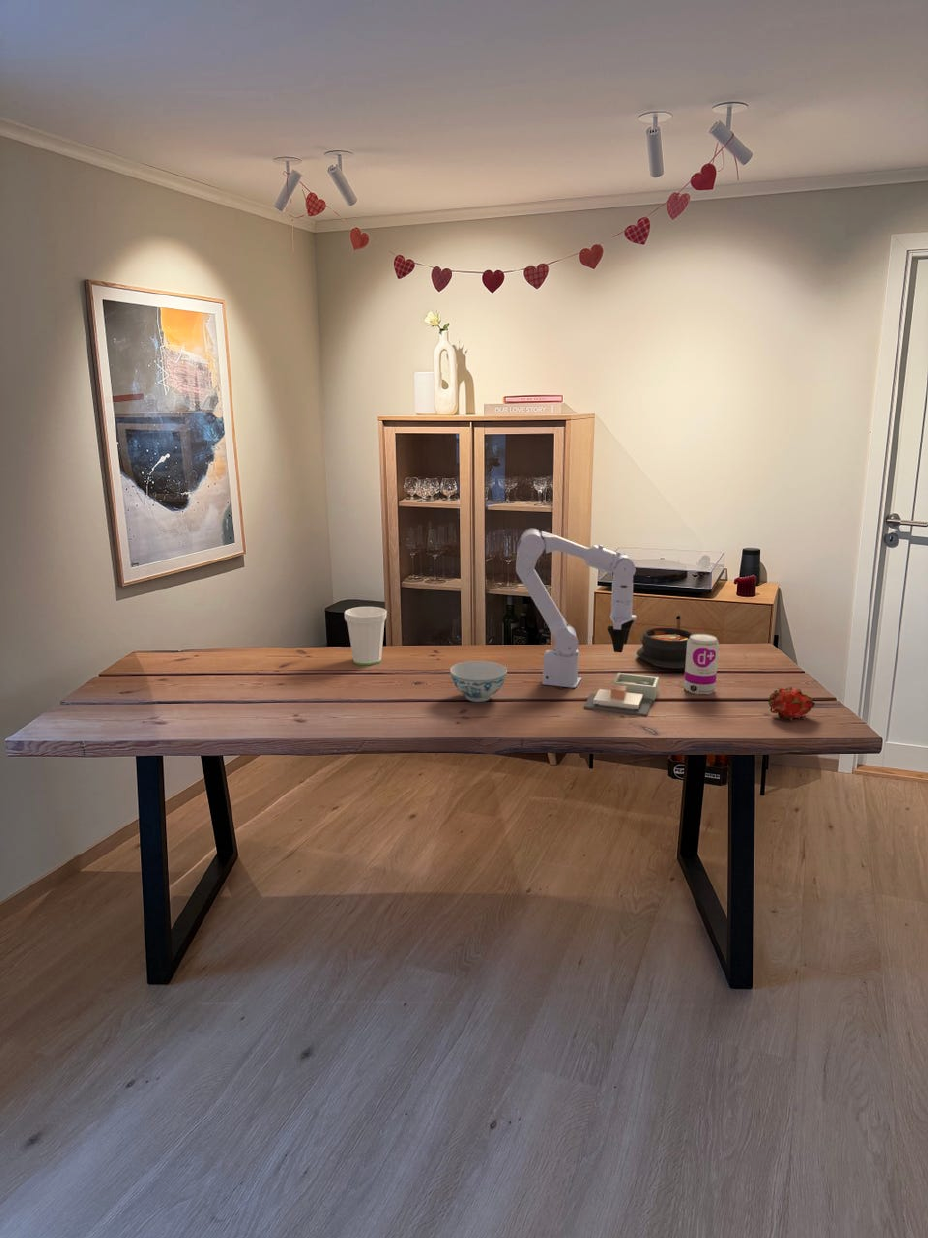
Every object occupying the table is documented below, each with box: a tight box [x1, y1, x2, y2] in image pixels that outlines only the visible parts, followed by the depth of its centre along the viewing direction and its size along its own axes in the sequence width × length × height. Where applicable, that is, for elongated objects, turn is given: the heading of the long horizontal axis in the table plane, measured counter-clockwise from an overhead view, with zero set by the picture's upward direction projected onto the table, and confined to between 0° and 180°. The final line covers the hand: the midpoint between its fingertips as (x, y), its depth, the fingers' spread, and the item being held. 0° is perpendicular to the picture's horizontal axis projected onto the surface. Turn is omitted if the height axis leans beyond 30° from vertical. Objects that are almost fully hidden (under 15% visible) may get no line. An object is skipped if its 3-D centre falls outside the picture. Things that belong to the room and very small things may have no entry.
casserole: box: [636, 627, 694, 670], centre depth 258 cm, size 25×19×8 cm
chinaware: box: [449, 660, 508, 703], centre depth 227 cm, size 15×15×8 cm
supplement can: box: [683, 633, 720, 695], centre depth 232 cm, size 8×8×15 cm
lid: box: [593, 684, 643, 710], centre depth 222 cm, size 11×8×4 cm
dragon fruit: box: [767, 686, 816, 721], centre depth 215 cm, size 8×8×12 cm
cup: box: [344, 606, 388, 666], centre depth 256 cm, size 12×12×15 cm
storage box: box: [612, 672, 660, 702], centre depth 231 cm, size 11×8×4 cm
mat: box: [583, 693, 653, 717], centre depth 223 cm, size 16×10×1 cm, turn 71°
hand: (620, 647), depth 236 cm, fingers open, 7 cm apart
